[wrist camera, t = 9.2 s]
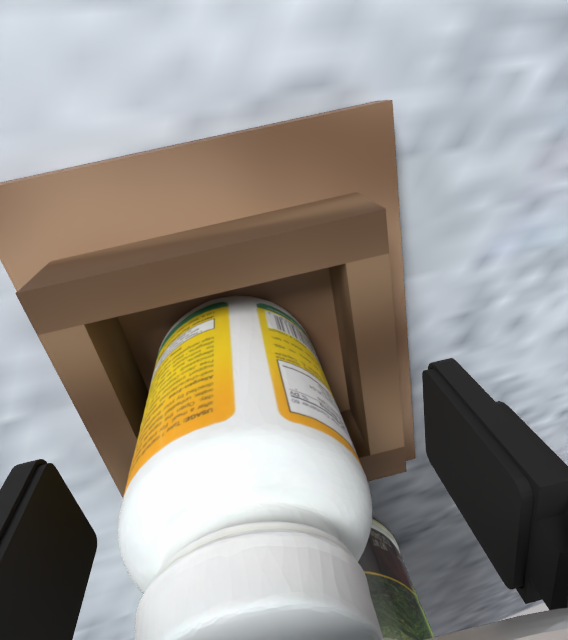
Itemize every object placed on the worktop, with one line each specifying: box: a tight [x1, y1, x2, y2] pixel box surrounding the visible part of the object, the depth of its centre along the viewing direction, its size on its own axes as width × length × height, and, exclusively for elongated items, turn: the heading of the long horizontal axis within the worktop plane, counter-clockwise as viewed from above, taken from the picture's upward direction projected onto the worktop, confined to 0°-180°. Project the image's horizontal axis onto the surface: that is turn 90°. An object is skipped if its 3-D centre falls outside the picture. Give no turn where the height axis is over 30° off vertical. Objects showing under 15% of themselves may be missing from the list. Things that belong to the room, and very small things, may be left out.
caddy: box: [0, 100, 415, 497], centre depth 14 cm, size 14×12×4 cm
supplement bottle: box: [118, 296, 383, 640], centre depth 11 cm, size 5×5×10 cm
